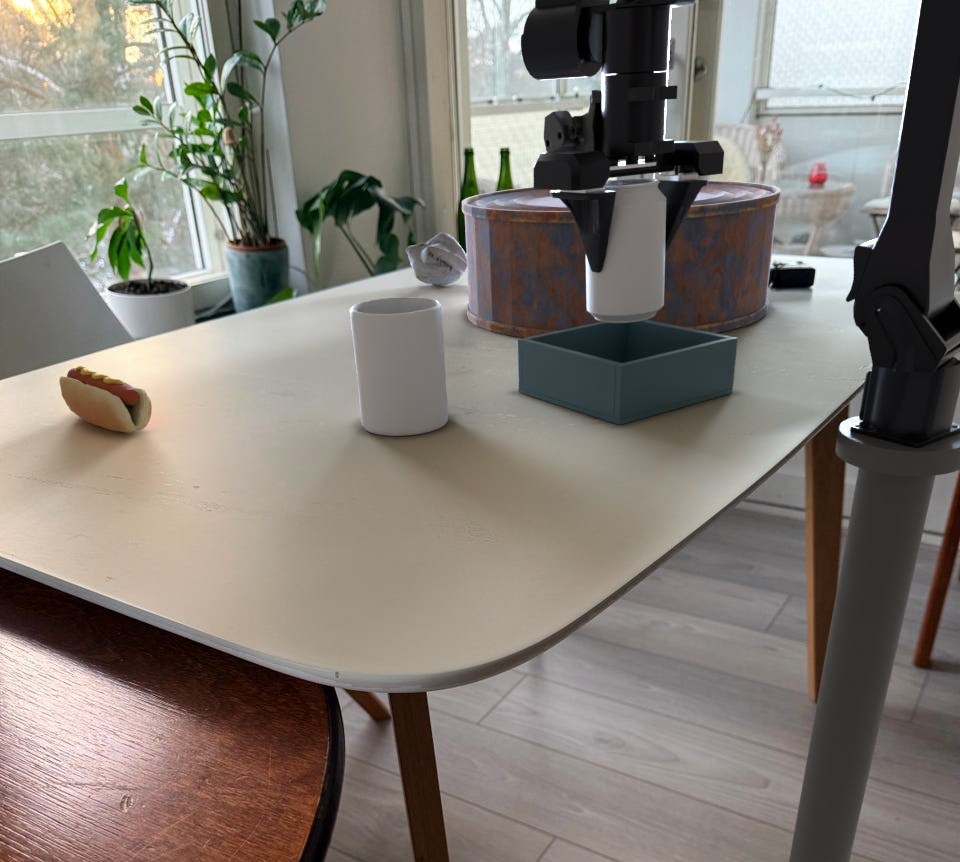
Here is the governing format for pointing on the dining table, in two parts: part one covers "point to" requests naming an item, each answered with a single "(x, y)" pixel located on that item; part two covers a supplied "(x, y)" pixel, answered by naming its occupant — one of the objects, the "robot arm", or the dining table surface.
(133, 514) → the dining table surface
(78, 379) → the food
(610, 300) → the can
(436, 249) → the crumpled paper ball
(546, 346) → the box
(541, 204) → the container
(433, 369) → the mug
